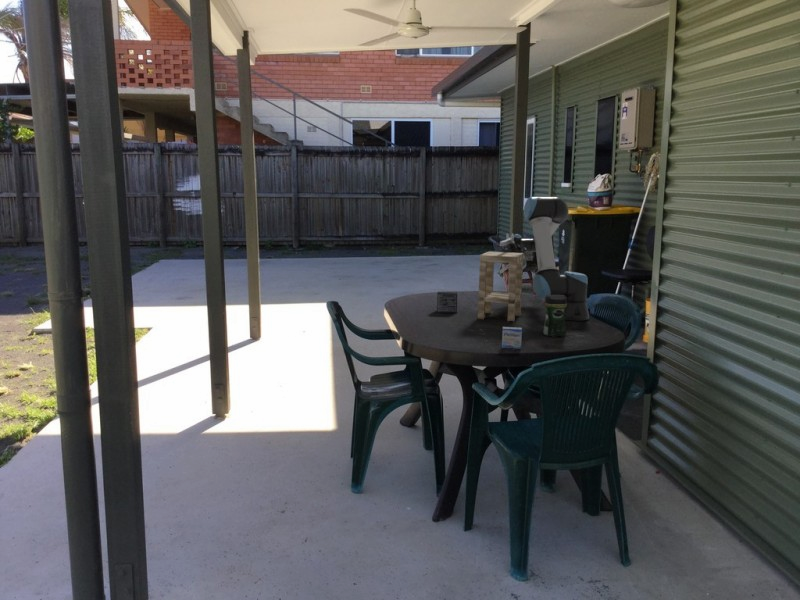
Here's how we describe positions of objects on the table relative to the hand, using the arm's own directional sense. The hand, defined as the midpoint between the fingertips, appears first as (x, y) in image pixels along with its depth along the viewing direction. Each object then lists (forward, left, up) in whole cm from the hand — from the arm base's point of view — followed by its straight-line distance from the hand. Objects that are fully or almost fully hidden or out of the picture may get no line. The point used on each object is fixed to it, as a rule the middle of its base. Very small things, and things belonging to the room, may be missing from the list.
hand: (509, 235), depth 346 cm
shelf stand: (-7, +15, -40) cm, 43 cm away
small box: (+19, +26, -40) cm, 52 cm away
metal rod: (-2, +5, -4) cm, 6 cm away
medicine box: (-49, +61, -40) cm, 88 cm away
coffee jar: (-48, +28, -40) cm, 69 cm away
